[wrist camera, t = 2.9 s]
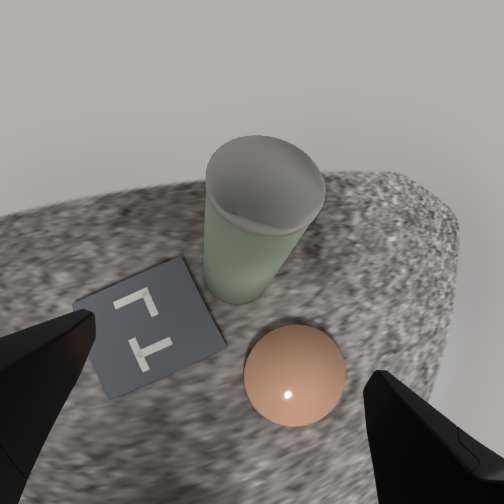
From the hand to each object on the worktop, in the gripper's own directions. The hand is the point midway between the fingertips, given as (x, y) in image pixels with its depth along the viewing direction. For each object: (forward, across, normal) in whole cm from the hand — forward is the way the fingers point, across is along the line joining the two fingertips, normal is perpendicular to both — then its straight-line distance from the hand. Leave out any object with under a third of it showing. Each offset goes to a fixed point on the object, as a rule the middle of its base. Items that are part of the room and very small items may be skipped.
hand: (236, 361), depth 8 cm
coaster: (+10, -6, +9) cm, 15 cm away
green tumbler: (+15, 0, +4) cm, 16 cm away
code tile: (+11, +6, +8) cm, 15 cm away
